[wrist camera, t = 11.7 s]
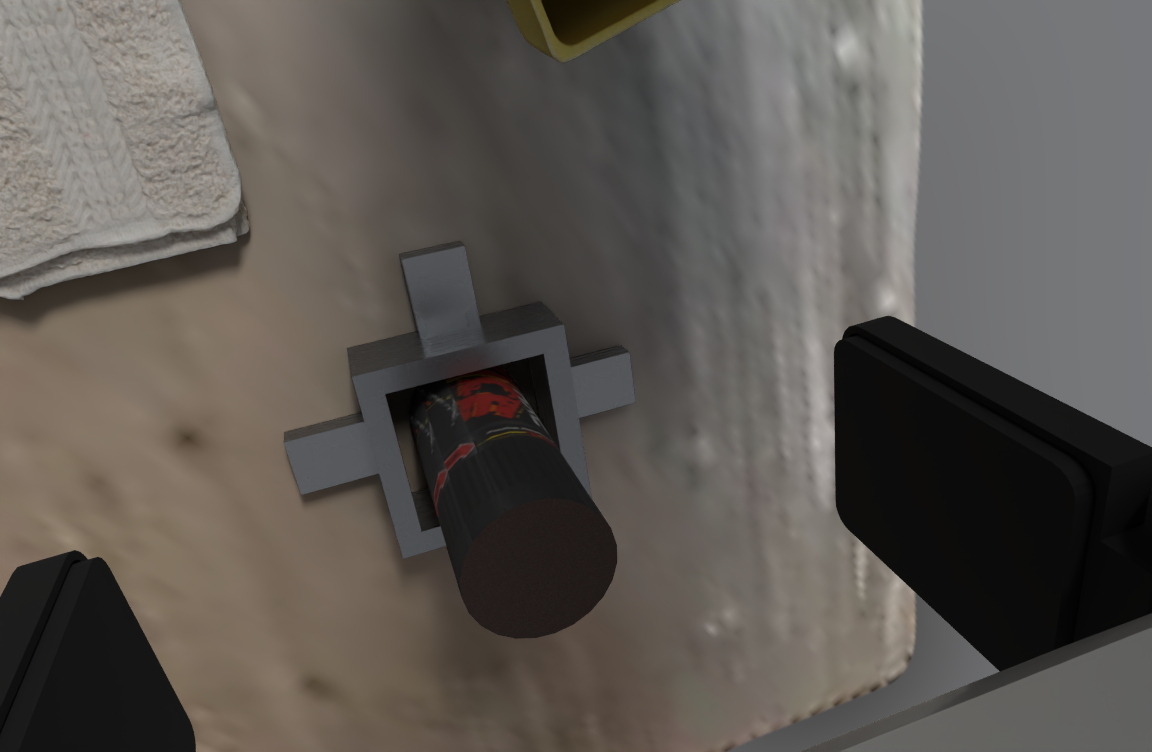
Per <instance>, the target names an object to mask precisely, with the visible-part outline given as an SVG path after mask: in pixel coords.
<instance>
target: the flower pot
mask: <svg viewBox="0 0 1152 752" xmlns="http://www.w3.org/2000/svg"><path fill="white" fill-rule="evenodd" d="M679 1H680V0H507V2H508V4H509V7H510V9H511V11H512V14H513V16H514V19H515V21H516V23H517V26H518V28H519V30H520V32H521V34H522V35H523V37H524V38H525V39H526V41H527V42H528V43H529V44H531V45H532V46H534V47H535V48H537V49H538V50H540V51H542V52H543V53H545V54H546V55H548V56H550V57H552V58H554V59H555V60H557V61H559V62H562V63H564V62H569V61H571V60H573V59H575V58H577V57H578V56H580V55H582V54H584V53H586V52H587V51H589V50H591V49H592V48H594V47H596V46H598V45H600V44H601V43H603V42H605V41H607V40H609V39H611V38H612V37H614V36H616V35H618V34H619V33H621V32H623V31H625V30H627V29H628V28H630V27H632V26H634V25H636V24H637V23H639V22H641V21H643V20H645V19H647V18H649V17H650V16H652V15H654V14H656V13H658V12H660V11H662V10H663V9H665V8H667V7H669V6H671V5H673V4H675V3H677V2H679Z"/></svg>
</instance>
